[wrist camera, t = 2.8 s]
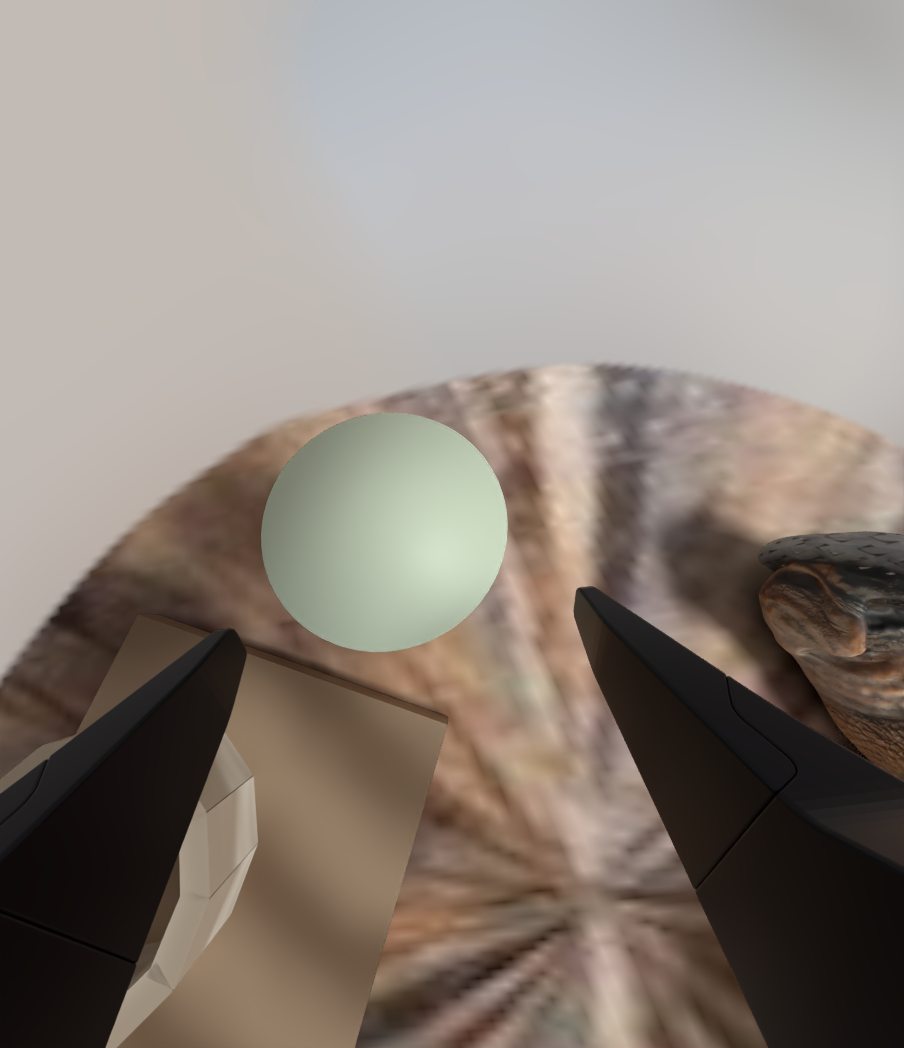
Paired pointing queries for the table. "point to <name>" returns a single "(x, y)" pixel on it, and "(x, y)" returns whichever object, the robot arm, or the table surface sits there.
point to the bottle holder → (274, 855)
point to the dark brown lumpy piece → (845, 630)
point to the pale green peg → (384, 532)
